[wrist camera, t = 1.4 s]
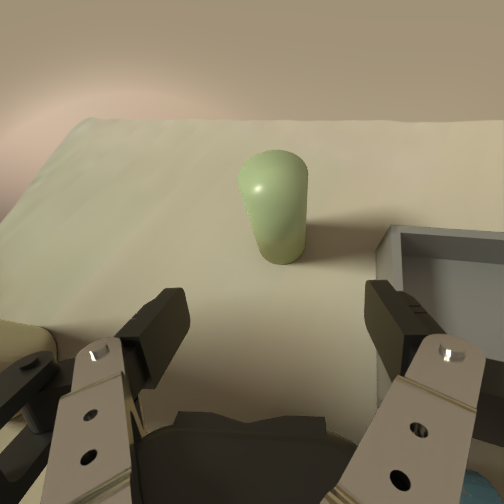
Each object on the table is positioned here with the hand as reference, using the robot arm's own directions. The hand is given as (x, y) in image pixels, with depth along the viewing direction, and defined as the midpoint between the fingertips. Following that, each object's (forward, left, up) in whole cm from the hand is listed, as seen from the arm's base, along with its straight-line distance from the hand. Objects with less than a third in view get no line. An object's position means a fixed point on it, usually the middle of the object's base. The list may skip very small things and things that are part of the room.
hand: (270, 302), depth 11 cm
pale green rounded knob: (-2, +10, -15) cm, 18 cm away
